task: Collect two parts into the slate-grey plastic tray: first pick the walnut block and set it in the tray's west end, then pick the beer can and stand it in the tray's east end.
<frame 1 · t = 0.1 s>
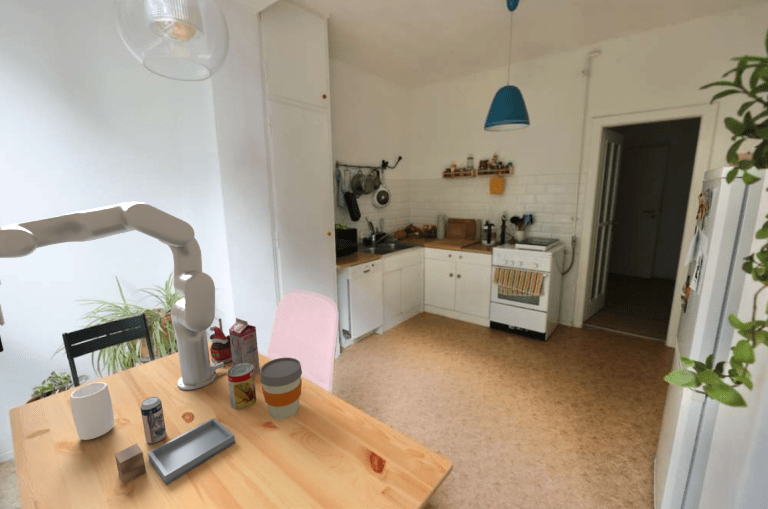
christmas cupcake figurine: (224, 359, 139), on the table
reusable coffee cup: (284, 410, 106), on the table
block: (132, 473, 83), on the table
beer can: (156, 439, 94), on the table
canned food: (243, 402, 110), on the table
cup: (97, 434, 97), on the table
tray: (193, 451, 89), on the table
juice carton: (247, 373, 128), on the table
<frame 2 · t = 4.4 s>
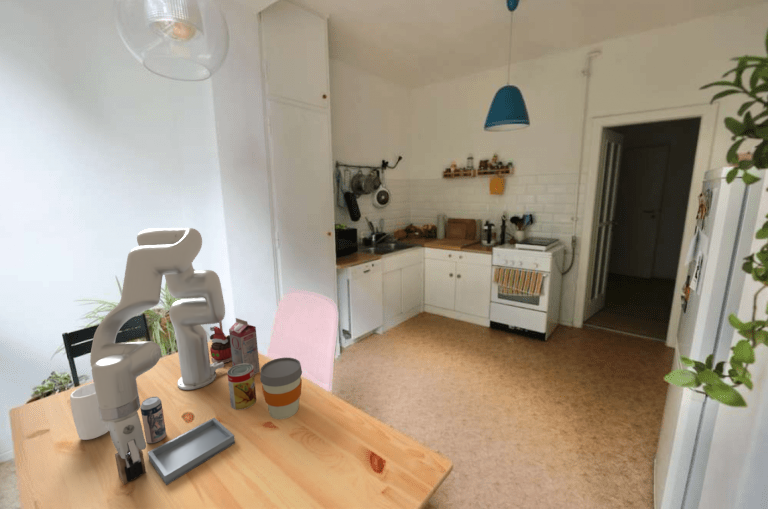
hand: (131, 471, 82), 1 cm above the table, tool pointing down, fingers closed on block, 4 cm apart
block: (132, 473, 83), on the table, touching gripper
everything else where it was.
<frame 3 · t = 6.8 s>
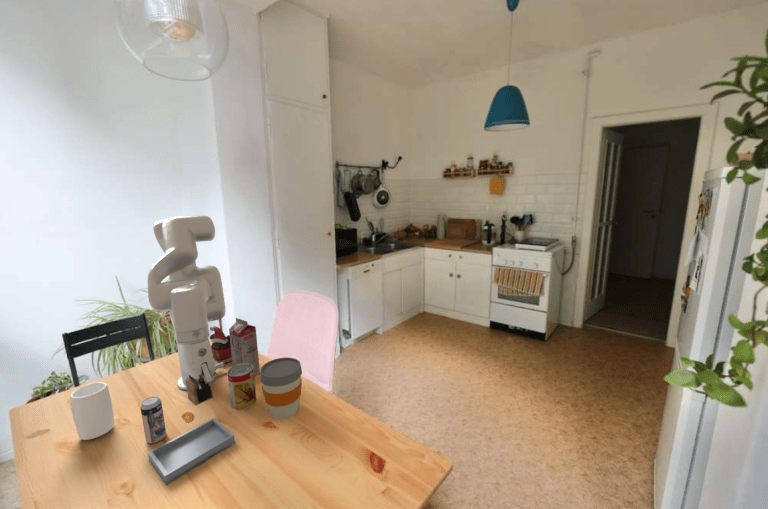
hand: (200, 395, 89), 15 cm above the table, tool pointing down, fingers closed on block, 4 cm apart
block: (200, 398, 89), point 14 cm above the table, touching gripper
everything else where it was.
when the fingers open (3 cm above the table, at t = 9.2 s): block drops 2 cm, resting on tray.
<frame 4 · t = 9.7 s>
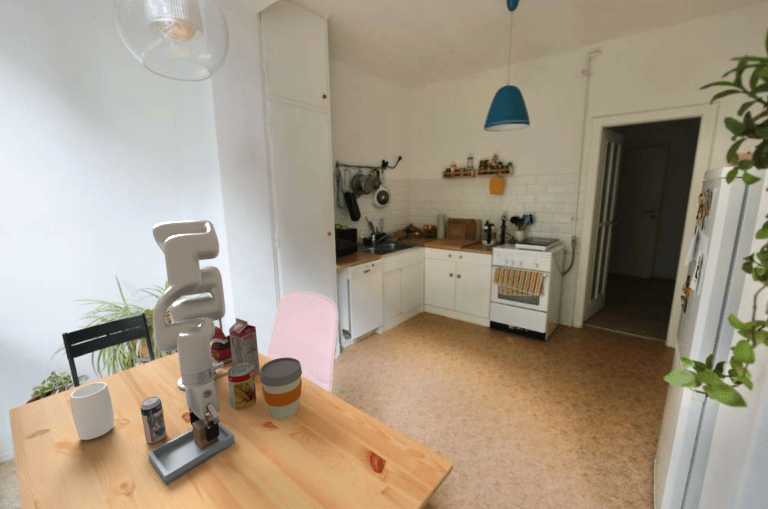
hand: (205, 430, 91), 4 cm above the table, tool pointing down, fingers open, 9 cm apart
block: (206, 441, 92), point 1 cm above the table, touching tray
everything else where it was.
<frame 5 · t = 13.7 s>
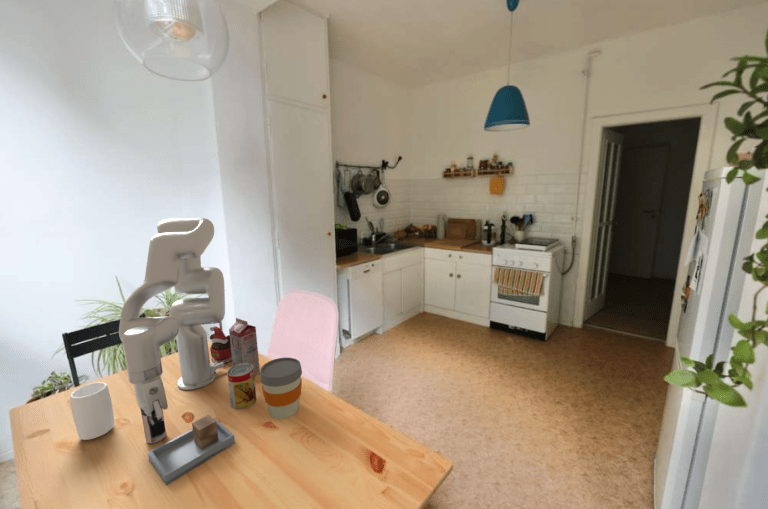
hand: (155, 429, 94), 3 cm above the table, tool pointing down, fingers closed on beer can, 4 cm apart
beer can: (156, 439, 94), on the table, touching gripper
everything else where it was.
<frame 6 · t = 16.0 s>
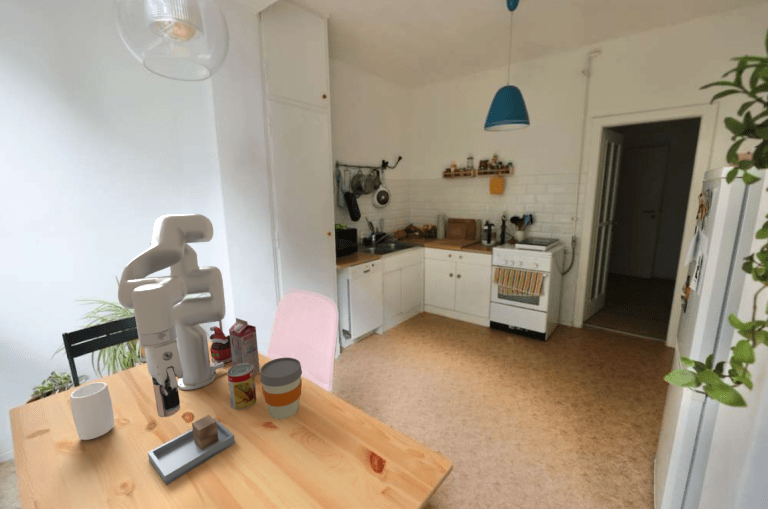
hand: (168, 401, 83), 17 cm above the table, tool pointing down, fingers closed on beer can, 4 cm apart
beer can: (169, 413, 84), point 14 cm above the table, touching gripper
everything else where it was.
when the fingers open (5 cm above the table, at t = 18.5 s): beer can drops 1 cm, resting on tray.
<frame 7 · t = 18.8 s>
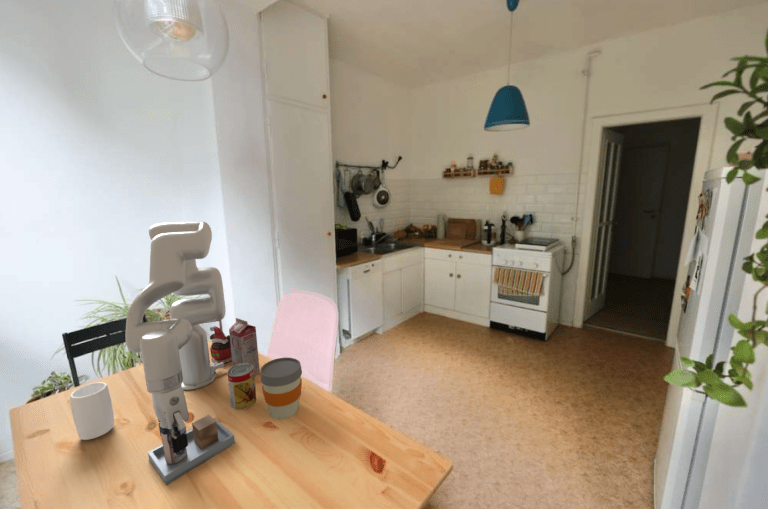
hand: (174, 440, 85), 6 cm above the table, tool pointing down, fingers open, 8 cm apart
beer can: (176, 458, 86), point 1 cm above the table, touching tray
everything else where it was.
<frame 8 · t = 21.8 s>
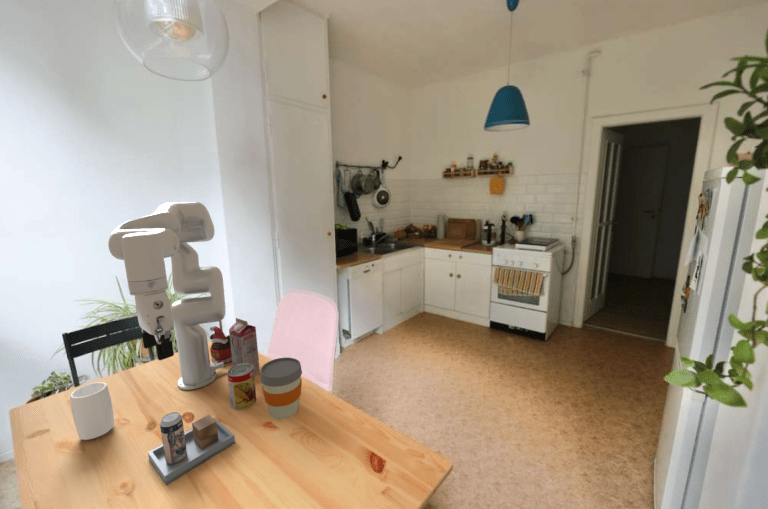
hand: (158, 351, 81), 30 cm above the table, tool pointing down, fingers open, 9 cm apart
nothing on the table moved.
at the end: beer can inside the target area on the tray (3.8 cm from its centre), point 0.6 cm above the tray's base; beer can tilted 0°; block inside the target area on the tray (3.2 cm from its centre), point 0.8 cm above the tray's base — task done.
